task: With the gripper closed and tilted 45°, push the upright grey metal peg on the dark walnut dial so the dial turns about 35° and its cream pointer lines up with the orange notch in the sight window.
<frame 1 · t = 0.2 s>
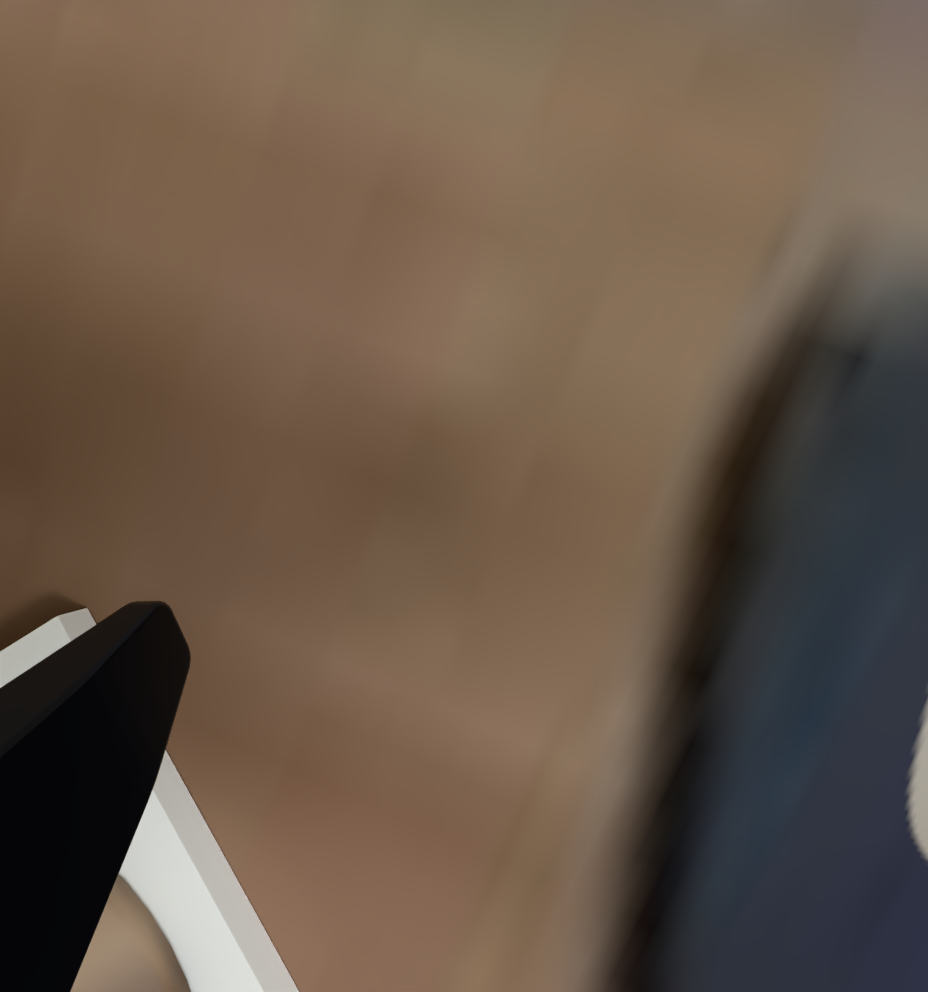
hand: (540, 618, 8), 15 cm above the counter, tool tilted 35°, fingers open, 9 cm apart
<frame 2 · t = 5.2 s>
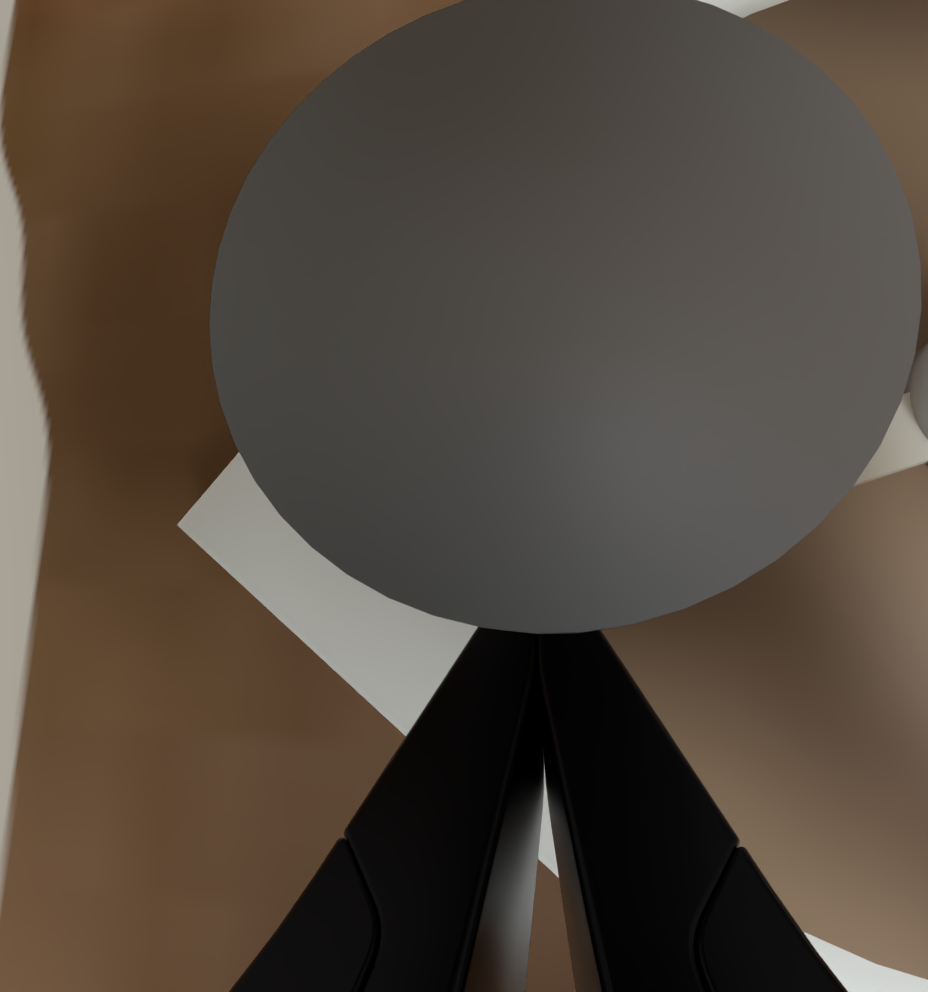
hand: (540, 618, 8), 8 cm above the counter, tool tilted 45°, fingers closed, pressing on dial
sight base: (906, 450, 15), on the counter
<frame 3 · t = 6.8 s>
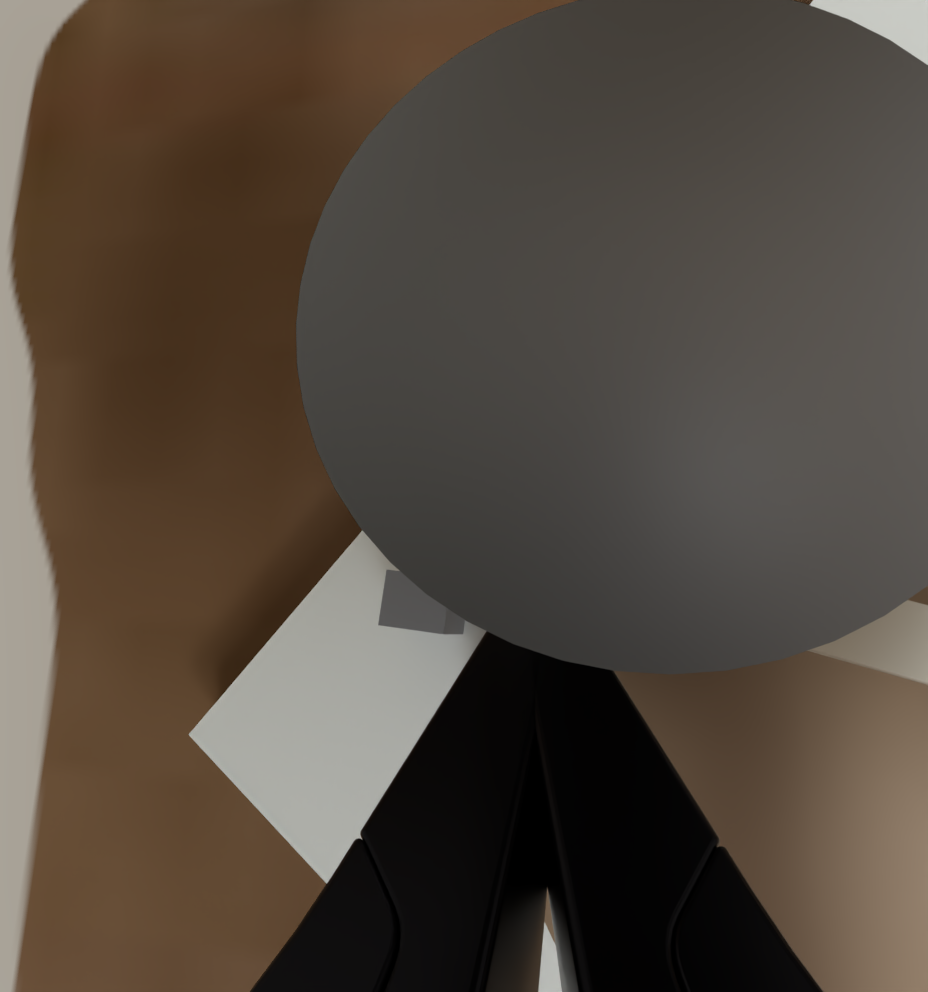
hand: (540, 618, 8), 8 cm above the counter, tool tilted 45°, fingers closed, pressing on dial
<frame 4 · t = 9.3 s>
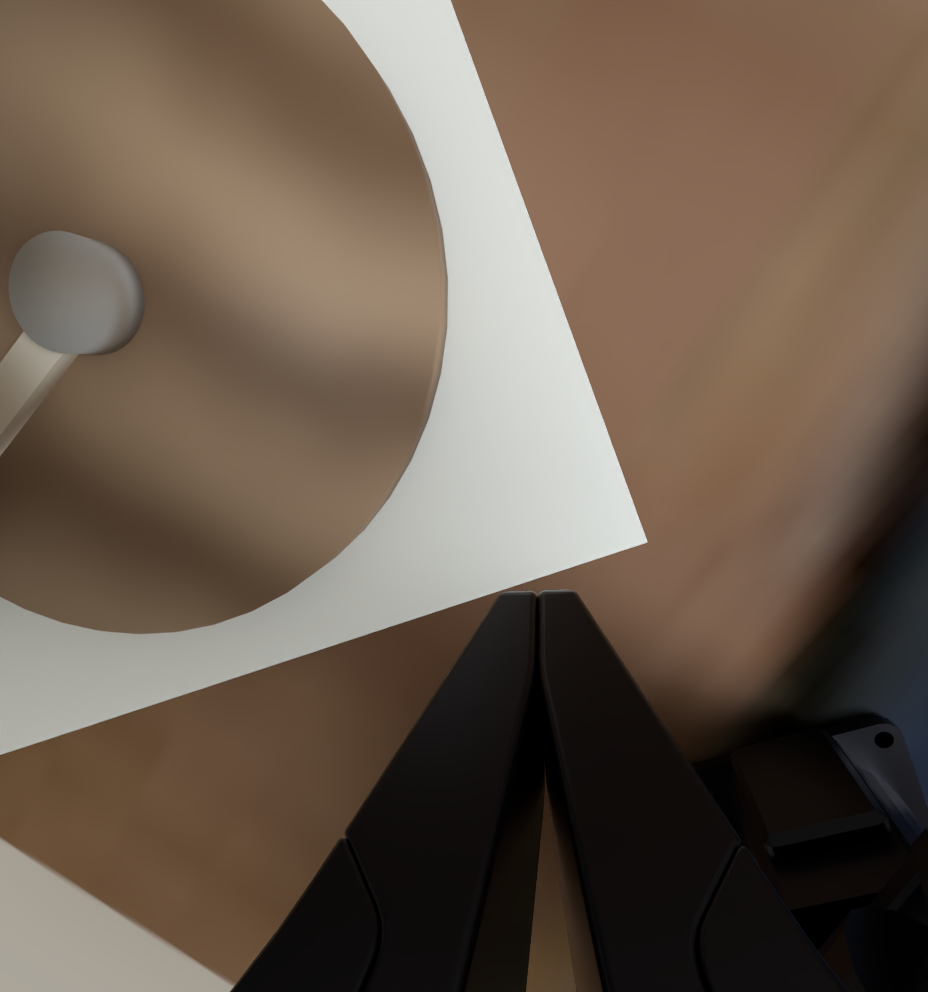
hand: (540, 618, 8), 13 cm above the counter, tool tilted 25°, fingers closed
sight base: (158, 308, 21), on the counter
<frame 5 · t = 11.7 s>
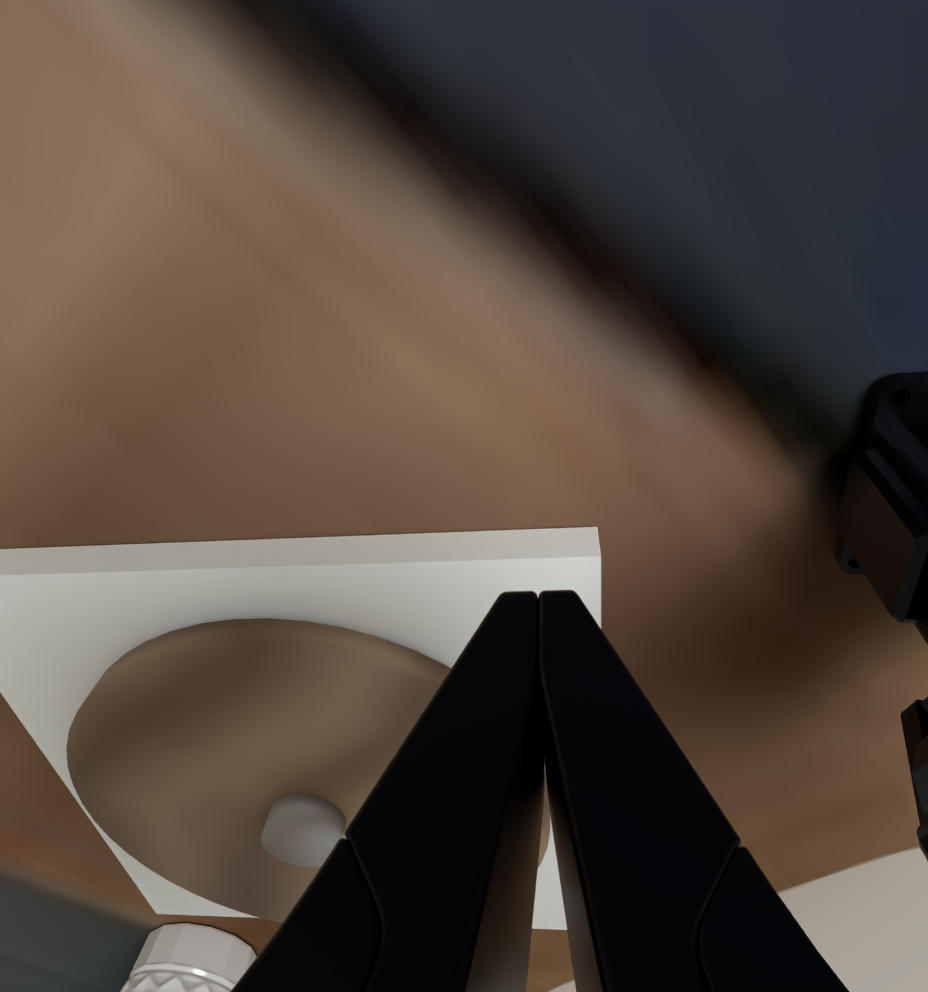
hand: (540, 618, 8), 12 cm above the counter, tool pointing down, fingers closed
white cup: (205, 945, 42), on the counter
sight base: (326, 752, 29), on the counter
dial: (272, 937, 23), point 7 cm above the counter, hinge at 33.7°
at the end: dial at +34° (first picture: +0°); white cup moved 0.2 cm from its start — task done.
